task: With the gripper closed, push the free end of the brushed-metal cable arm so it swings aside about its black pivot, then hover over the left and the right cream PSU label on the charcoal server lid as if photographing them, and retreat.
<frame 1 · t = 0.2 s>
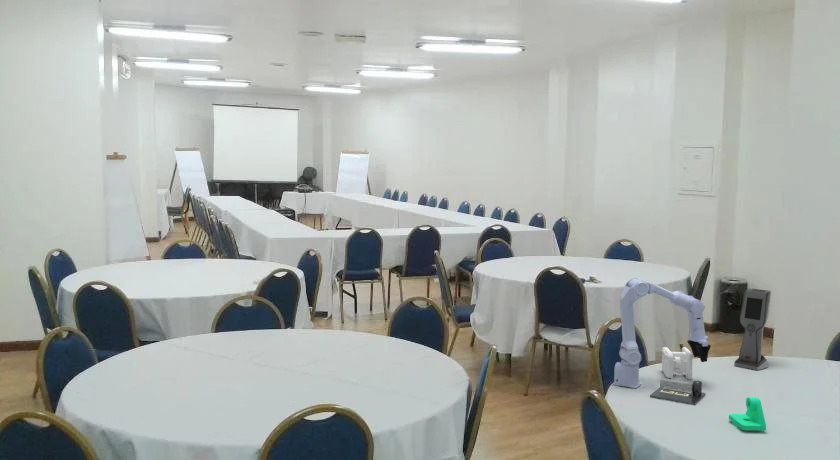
hand: (700, 359, 286), 11 cm above the table, tool pointing down, fingers open, 7 cm apart
thermal camera: (751, 366, 316), on the table
label left: (668, 393, 274), resting on server lid
label right: (682, 396, 271), resting on server lid
cable arm: (680, 385, 273), point 4 cm above the table, hinge at 0.0°
cable organizer: (676, 376, 299), on the table
server lid: (677, 396, 271), on the table
camera mount: (746, 427, 236), on the table
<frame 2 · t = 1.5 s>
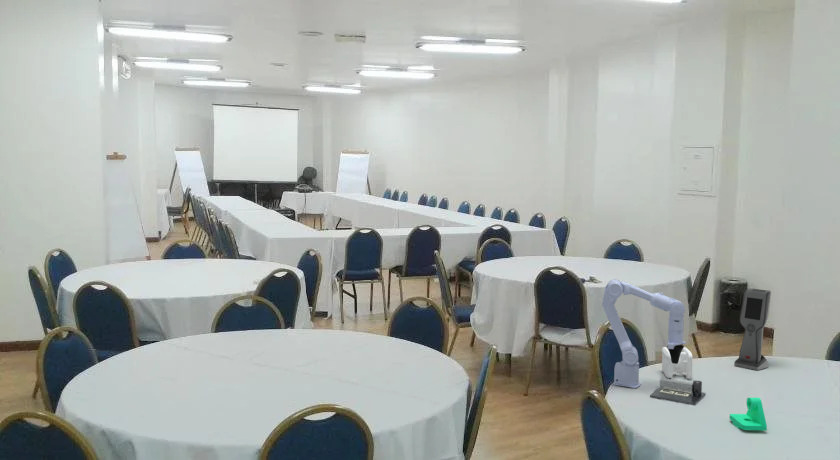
hand: (675, 363, 280), 10 cm above the table, tool pointing down, fingers closed
nothing on the table moved.
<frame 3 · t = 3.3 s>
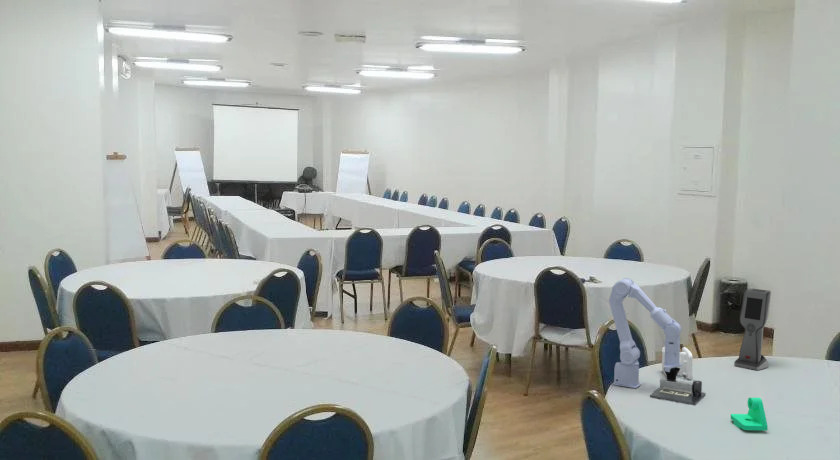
hand: (671, 385, 277), 2 cm above the table, tool pointing down, fingers closed
cable arm: (680, 385, 273), point 3 cm above the table, hinge at 0.5°, touching gripper
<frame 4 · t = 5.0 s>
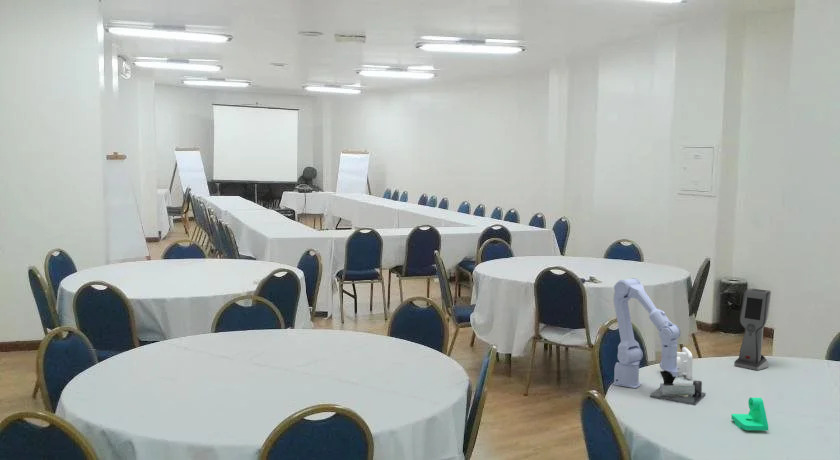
hand: (668, 389, 272), 2 cm above the table, tool pointing down, fingers closed
cable arm: (681, 388, 269), point 3 cm above the table, hinge at 35.1°, touching gripper
everything else where it was.
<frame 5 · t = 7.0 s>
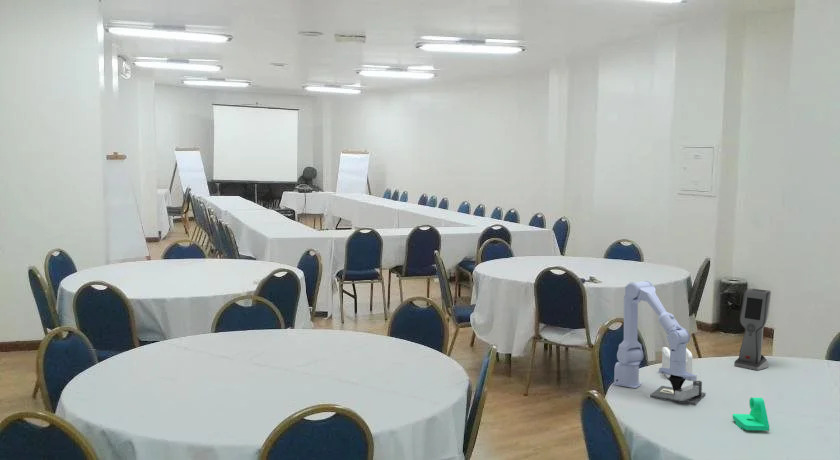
hand: (676, 395, 265), 2 cm above the table, tool pointing down, fingers closed
cable arm: (689, 391, 265), point 3 cm above the table, hinge at 75.3°, touching gripper
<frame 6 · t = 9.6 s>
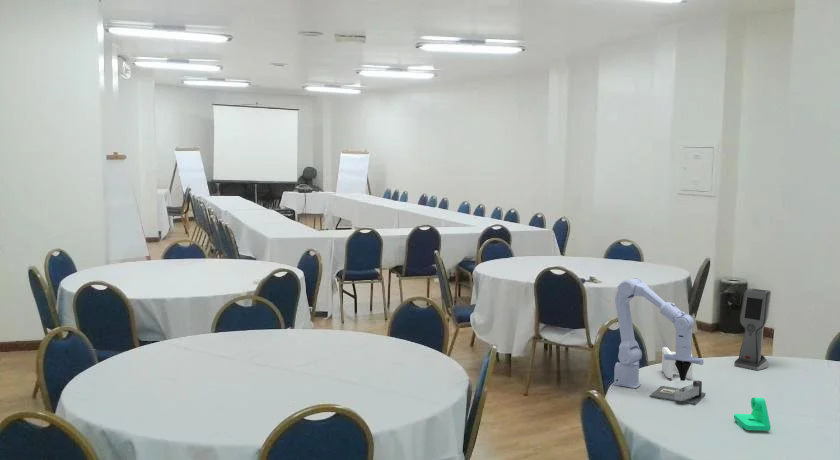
hand: (682, 380, 270), 6 cm above the table, tool pointing down, fingers closed
cable arm: (689, 391, 265), point 4 cm above the table, hinge at 75.3°
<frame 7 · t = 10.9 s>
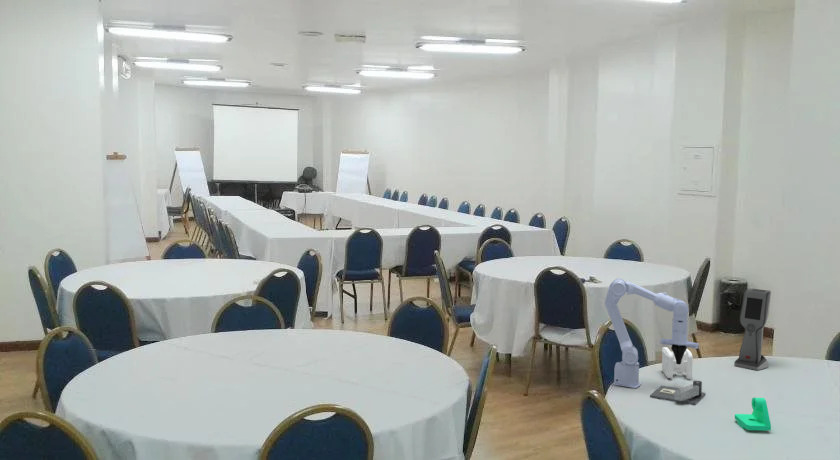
hand: (678, 363, 280), 10 cm above the table, tool pointing down, fingers closed
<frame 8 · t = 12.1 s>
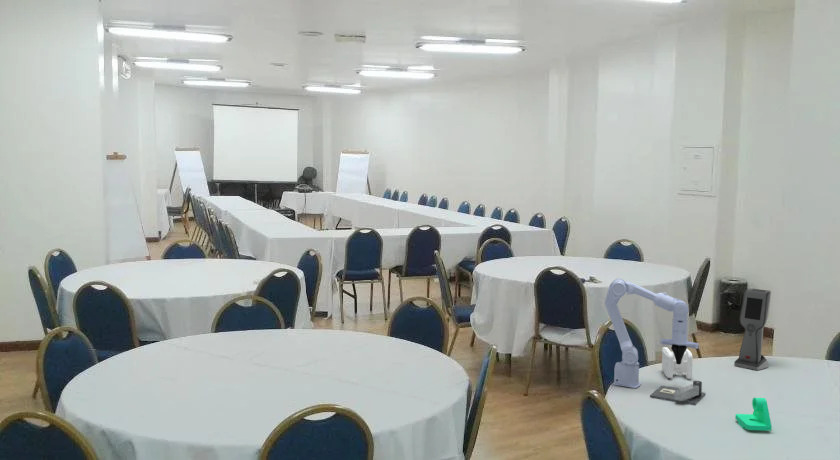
hand: (678, 363, 280), 10 cm above the table, tool pointing down, fingers closed
at the end: cable arm at +75° (first picture: +0°) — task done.
